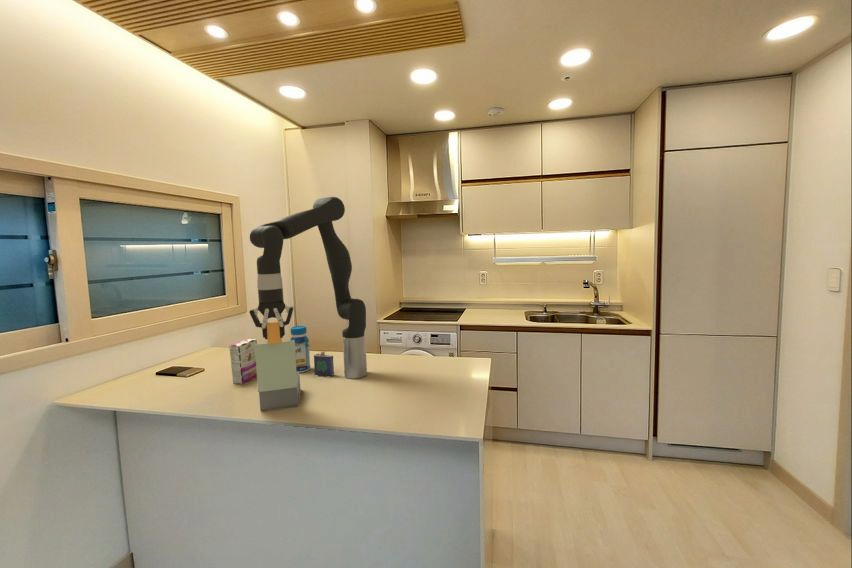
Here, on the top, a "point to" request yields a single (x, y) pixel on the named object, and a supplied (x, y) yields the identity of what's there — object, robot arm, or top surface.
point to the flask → (323, 364)
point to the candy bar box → (243, 361)
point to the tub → (280, 398)
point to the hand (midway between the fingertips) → (274, 337)
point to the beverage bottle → (301, 348)
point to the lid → (275, 361)
